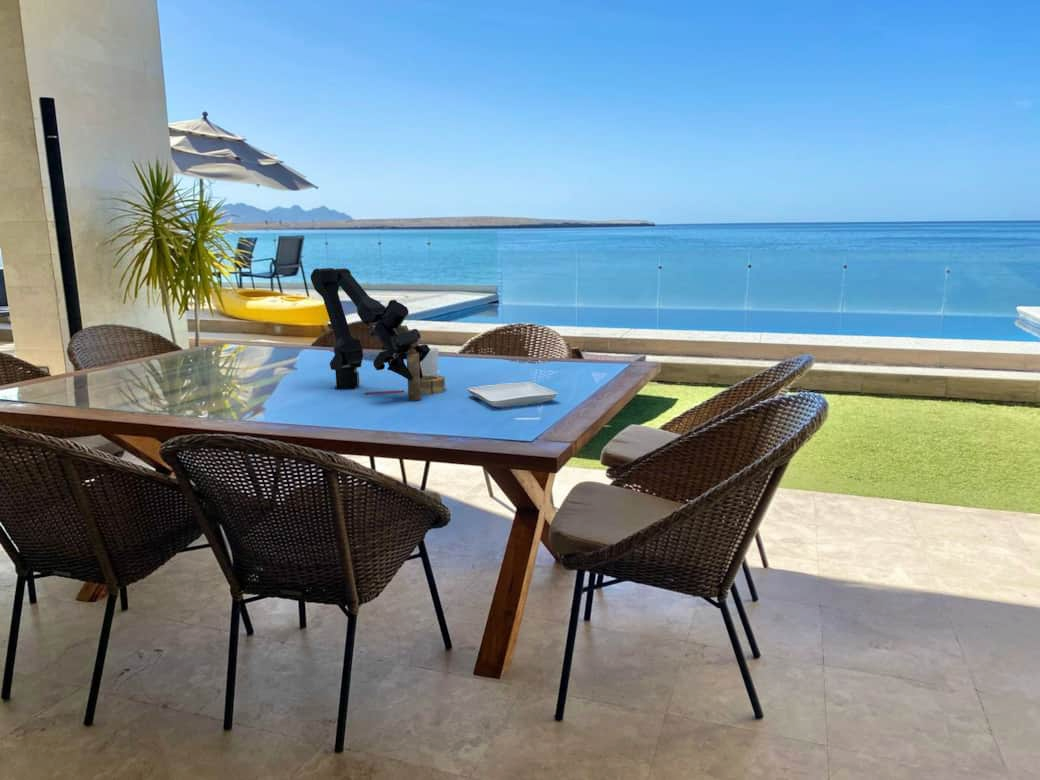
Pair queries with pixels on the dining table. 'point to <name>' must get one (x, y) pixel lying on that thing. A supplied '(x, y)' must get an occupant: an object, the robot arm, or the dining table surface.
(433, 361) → the white cup
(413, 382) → the tall brown cylinder
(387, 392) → the brick-red rectangular plank
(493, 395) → the salad plate
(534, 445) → the dining table surface
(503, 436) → the dining table surface
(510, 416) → the dining table surface
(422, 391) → the tan segmented ring
